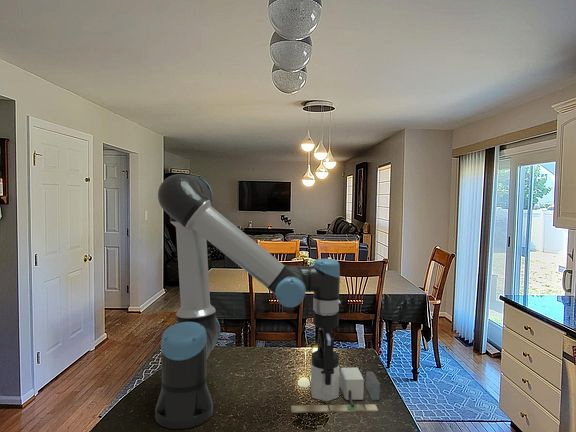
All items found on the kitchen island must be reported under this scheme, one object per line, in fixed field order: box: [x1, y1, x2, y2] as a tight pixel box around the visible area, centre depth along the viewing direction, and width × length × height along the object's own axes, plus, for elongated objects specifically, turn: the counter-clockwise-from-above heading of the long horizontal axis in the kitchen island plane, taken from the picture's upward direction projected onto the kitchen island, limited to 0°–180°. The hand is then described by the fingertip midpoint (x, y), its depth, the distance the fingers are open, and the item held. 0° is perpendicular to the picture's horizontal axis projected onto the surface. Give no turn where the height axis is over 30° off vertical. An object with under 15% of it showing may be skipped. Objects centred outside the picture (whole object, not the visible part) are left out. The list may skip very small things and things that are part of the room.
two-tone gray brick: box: [365, 371, 381, 401], centre depth 125 cm, size 2×8×5 cm, turn 3°
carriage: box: [339, 367, 365, 407], centre depth 123 cm, size 5×13×6 cm, turn 3°
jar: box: [310, 349, 340, 402], centre depth 124 cm, size 9×8×12 cm
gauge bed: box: [290, 403, 379, 414], centre depth 116 cm, size 24×3×1 cm, turn 93°
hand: (324, 386), depth 125 cm, fingers closed on jar, 9 cm apart
